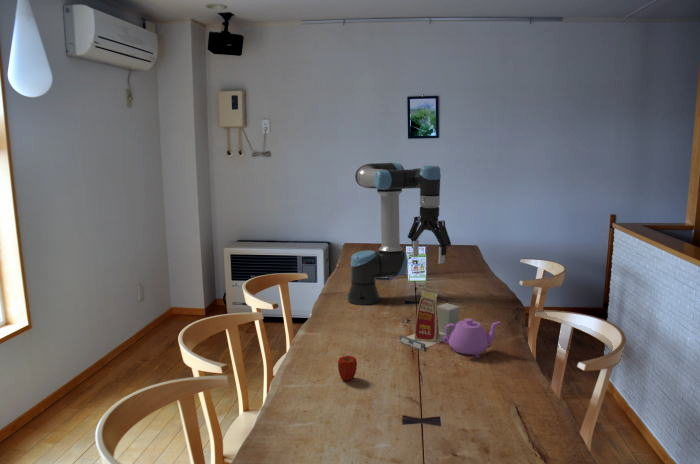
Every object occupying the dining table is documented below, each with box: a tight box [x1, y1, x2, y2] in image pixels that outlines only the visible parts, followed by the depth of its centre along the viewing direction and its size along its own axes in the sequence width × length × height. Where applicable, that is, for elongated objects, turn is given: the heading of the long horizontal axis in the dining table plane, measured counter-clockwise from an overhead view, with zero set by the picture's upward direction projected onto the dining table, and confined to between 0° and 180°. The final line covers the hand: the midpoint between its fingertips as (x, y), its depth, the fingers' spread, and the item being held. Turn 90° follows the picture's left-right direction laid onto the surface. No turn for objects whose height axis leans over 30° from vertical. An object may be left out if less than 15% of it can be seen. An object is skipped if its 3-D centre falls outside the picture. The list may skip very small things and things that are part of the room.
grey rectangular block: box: [437, 302, 460, 335], centre depth 211 cm, size 6×6×10 cm
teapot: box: [442, 317, 501, 359], centre depth 193 cm, size 20×14×12 cm
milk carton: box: [414, 285, 441, 342], centre depth 204 cm, size 9×9×20 cm
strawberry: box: [337, 355, 358, 382], centre depth 173 cm, size 6×6×8 cm
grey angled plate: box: [398, 332, 450, 352], centre depth 207 cm, size 12×24×3 cm, turn 131°
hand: (428, 259), depth 211 cm, fingers open, 13 cm apart
